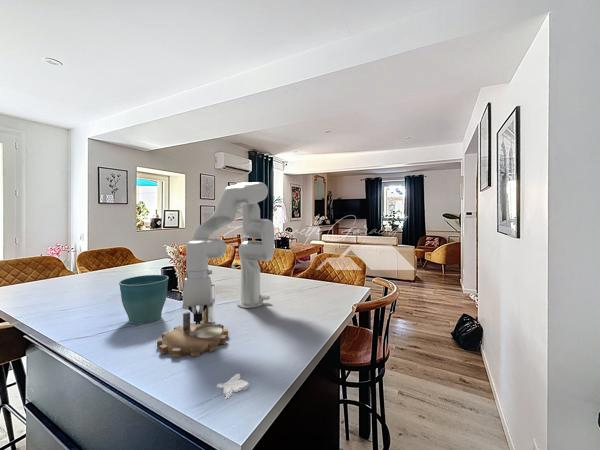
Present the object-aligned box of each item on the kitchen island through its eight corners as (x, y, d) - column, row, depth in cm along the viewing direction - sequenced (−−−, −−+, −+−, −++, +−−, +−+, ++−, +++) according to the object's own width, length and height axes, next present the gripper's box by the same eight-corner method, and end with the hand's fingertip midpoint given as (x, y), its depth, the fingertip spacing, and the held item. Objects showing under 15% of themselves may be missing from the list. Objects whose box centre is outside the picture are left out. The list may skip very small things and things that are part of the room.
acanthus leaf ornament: (238, 377, 75) (238, 370, 75) (252, 389, 70) (252, 381, 70) (212, 388, 69) (212, 381, 69) (225, 402, 64) (225, 394, 64)
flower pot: (133, 331, 102) (133, 287, 101) (110, 321, 112) (110, 280, 111) (177, 317, 117) (177, 278, 117) (154, 309, 127) (153, 273, 126)
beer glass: (218, 319, 114) (218, 284, 114) (208, 326, 108) (208, 288, 107) (205, 317, 117) (205, 283, 116) (193, 323, 110) (193, 287, 110)
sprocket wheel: (196, 323, 110) (196, 304, 110) (241, 334, 99) (241, 314, 99) (141, 346, 89) (141, 324, 89) (190, 364, 79) (190, 338, 79)
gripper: (218, 271, 106) (218, 317, 107) (176, 273, 102) (177, 321, 102) (218, 275, 99) (219, 324, 100) (173, 277, 95) (174, 329, 95)
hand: (198, 322), depth 101 cm, fingers closed
